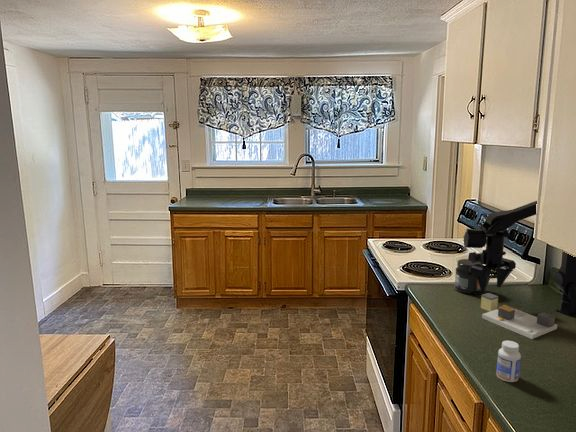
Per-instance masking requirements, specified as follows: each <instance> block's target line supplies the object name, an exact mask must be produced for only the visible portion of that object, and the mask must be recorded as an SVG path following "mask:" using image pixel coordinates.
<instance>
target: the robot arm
mask: <svg viewBox="0 0 576 432" xmlns="http://www.w3.org/2000/svg"><path fill="white" fill-rule="evenodd" d="M536 204H537V200H535V201H531V202H529V203H527V204H523V205H521V206H518V207H515V208H513V209H509V210H500V211H494V212H491V213H489V214H488V215H487V216H486V217H487V218H486V220H485V221H484V222H483V223H482V225H481V226H480V227H479V228H478V229H476V228H473V229H472V228H466V230H465V233H464V236H463V246H464V248H466V249H467V248H468V249H472V248H473V249H483V248H484V247H485V249H483V250H482V252H477V253H476V251H473V252H472V251H471V252H469V253H468V258H467V259H469V261H472V263H475V262H480V264H476V265H472V266H471V267H470V273H472V274H473V275H475V276H476V277H477V279H478V282H479V285H480V289H481V292H482V293H485V292H486V290H487V287H488V285H489V282H490V280H491V277H492V276H491V273H492V271H493V270H495V272H496V286H497V288H501V287H502V286H503V284H504V283H505V281H506V280H507V278H508V276H510V274H511V273H513V271H514V270H515V269H516V266H517V264H516V262H515V260H512V259H509V258H505V257H504V256H506V254H507V251H505V250H504V249H505V248H504V247H505V238H512V235H511V234H510V233H509V231H508V230H507V229H509V228H511V227H513V226H514V225H515V224H516V223H518V222H519V221H523V220H524V219H528V218H531V217H534V216H535V215H537V214H536ZM481 264H483V265H481ZM552 281H553V282H554V285H555V287H557V289H558V292H560V293H562V294H561V295H562V296H561V301H560V307H558V308H556V309H555V311H556V312H560V313H561V314H564V315H568V316H570V317H574V318H575V317H576V257H573V256H571V255H569V254H567V253H565V252H563V251H562V252H561V265H560V267H559V269H558V270H555V269H554V270H553V278H552Z"/></svg>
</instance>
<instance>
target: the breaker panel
mask: <svg viewBox="0 0 576 432" xmlns="http://www.w3.org/2000/svg"><path fill="white" fill-rule="evenodd" d="M514 309H515V315H514V318H513V319H510V320H508V319H505V318H503V317H500V316H498V310H499V308H497V309H496V310H493V311H487V312H484V313H482V314H481V319H483V320H486V321H487V322H490V323H492V324H494V325H497V326H499V327H502V328H503V329H504V328H505V329H507V330H509V331H512V332H514V333H517V334H519V335H521V336H523V337H526V338H528V339H531V340H534V339H535V338H538V337H541V336H542V335H545V334H547V333H550V332H552V331H555V330H557V329H558V324H556V323H554V325H553V326H551V327H547V326H544V325H542V324H539V323H537V316H535V315H533V314H531V313H530V314H529V313H527V312H524V311H522V310H520V309H516V308H514Z"/></svg>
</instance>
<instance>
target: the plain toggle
mask: <svg viewBox="0 0 576 432" xmlns="http://www.w3.org/2000/svg"><path fill="white" fill-rule="evenodd" d="M536 317H537V323H539V324H542V325H544V326H547V327H551V326H553V325H554V324H555V321H556V320H555V319H556V316H554V315H552V314H549V313H546V312H543V311H542V312H541V313H540V312H539V313H538V314H537V316H536Z"/></svg>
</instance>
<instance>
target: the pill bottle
mask: <svg viewBox="0 0 576 432" xmlns="http://www.w3.org/2000/svg"><path fill="white" fill-rule="evenodd" d="M519 350H520V345H519V343H517V342H515V341H513V340H503V341H502V342H501V348H499V349H498V352H497V360H496V361H497V362H496V377H497V378H498V379H500V380H501V381H504V382H506V383H507V382H508V383H516V382H518V380H519V378H520V368H521V362H522V360H521V359H522V355H521V354H522V353H520V352H519Z"/></svg>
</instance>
